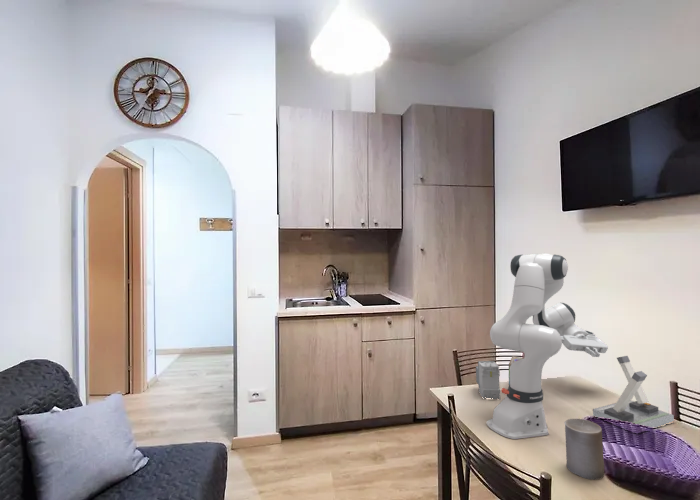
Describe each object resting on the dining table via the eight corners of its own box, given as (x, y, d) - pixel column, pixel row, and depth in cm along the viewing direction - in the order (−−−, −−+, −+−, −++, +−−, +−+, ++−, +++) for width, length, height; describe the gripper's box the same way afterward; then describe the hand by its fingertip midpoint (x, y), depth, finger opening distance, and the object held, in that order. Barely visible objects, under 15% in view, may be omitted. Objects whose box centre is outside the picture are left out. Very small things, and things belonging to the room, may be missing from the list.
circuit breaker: (491, 388, 179) (490, 357, 179) (500, 399, 165) (499, 366, 165) (475, 388, 180) (474, 357, 180) (483, 399, 166) (482, 366, 166)
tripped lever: (643, 403, 144) (621, 356, 151) (637, 403, 146) (616, 357, 153) (649, 401, 145) (627, 355, 152) (643, 402, 147) (622, 356, 154)
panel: (636, 434, 131) (636, 421, 132) (593, 416, 146) (592, 404, 146) (673, 422, 139) (673, 410, 140) (628, 406, 154) (628, 395, 154)
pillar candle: (596, 463, 115) (594, 415, 115) (610, 481, 105) (607, 429, 106) (562, 460, 117) (559, 413, 118) (572, 478, 108) (570, 427, 108)
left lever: (618, 412, 138) (640, 376, 131) (612, 408, 140) (634, 372, 133) (624, 410, 140) (647, 375, 132) (619, 406, 142) (641, 371, 134)
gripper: (559, 329, 171) (579, 348, 158) (596, 333, 174) (619, 351, 162) (553, 340, 173) (573, 359, 160) (590, 343, 177) (612, 363, 164)
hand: (596, 355), depth 161 cm, fingers closed
